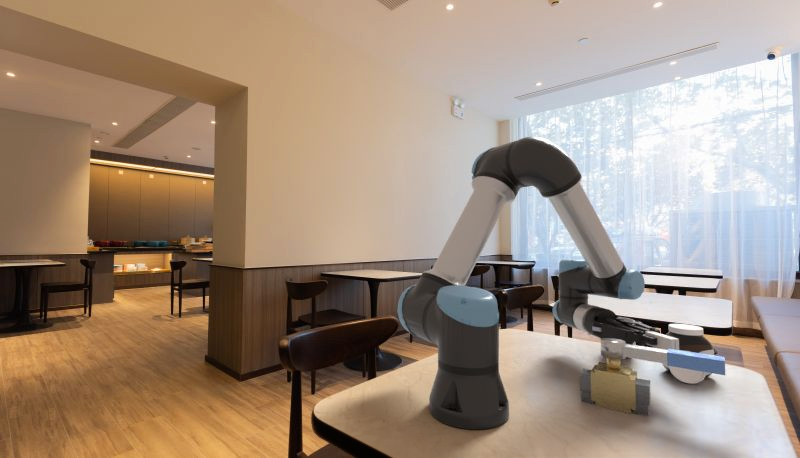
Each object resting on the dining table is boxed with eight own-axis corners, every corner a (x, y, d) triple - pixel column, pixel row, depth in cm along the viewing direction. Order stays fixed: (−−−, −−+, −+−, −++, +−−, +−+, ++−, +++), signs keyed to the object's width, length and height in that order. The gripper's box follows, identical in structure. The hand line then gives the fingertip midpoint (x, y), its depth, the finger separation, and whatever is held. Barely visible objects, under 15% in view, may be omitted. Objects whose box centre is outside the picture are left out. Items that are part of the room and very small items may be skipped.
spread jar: (696, 369, 94) (694, 323, 95) (734, 386, 83) (732, 334, 83) (648, 369, 95) (646, 323, 95) (680, 386, 83) (678, 334, 84)
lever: (603, 351, 78) (603, 336, 78) (724, 371, 66) (724, 354, 66) (598, 356, 75) (598, 341, 75) (725, 378, 62) (724, 360, 62)
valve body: (579, 401, 76) (578, 354, 76) (584, 391, 80) (583, 348, 81) (649, 417, 69) (648, 366, 69) (651, 405, 73) (649, 357, 74)
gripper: (619, 334, 98) (705, 363, 74) (573, 336, 96) (645, 366, 72) (618, 305, 98) (703, 325, 75) (572, 307, 96) (644, 328, 73)
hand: (675, 345), depth 74 cm, fingers closed
